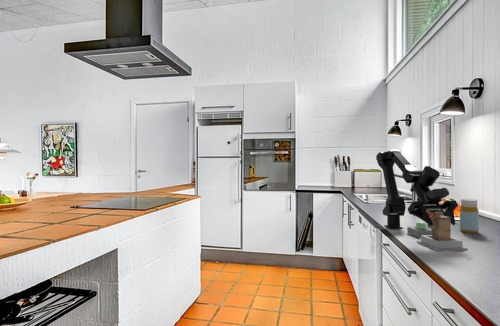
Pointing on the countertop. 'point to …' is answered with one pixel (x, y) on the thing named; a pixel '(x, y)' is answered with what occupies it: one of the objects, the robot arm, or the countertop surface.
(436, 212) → the canned tomato
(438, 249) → the grey square socket
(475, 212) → the bottle
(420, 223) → the button
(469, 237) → the countertop surface
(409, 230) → the switch box
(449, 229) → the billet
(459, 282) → the countertop surface
